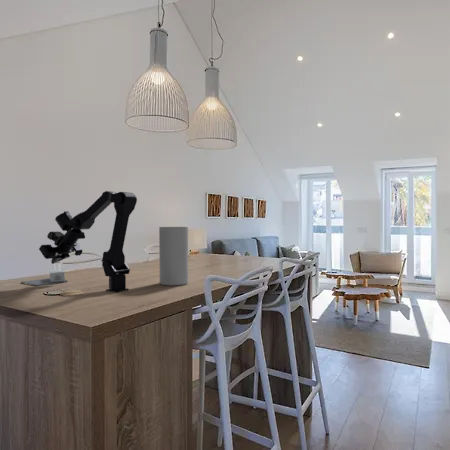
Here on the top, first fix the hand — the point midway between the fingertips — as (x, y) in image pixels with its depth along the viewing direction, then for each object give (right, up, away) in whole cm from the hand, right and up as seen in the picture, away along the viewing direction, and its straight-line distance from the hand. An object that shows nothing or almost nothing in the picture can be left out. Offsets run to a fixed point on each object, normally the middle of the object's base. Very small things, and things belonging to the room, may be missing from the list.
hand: (52, 263), depth 164 cm
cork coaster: (+18, -9, -22) cm, 30 cm away
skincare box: (+2, -7, +2) cm, 7 cm away
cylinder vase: (+54, -9, 0) cm, 54 cm away
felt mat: (-6, -9, +4) cm, 12 cm away
